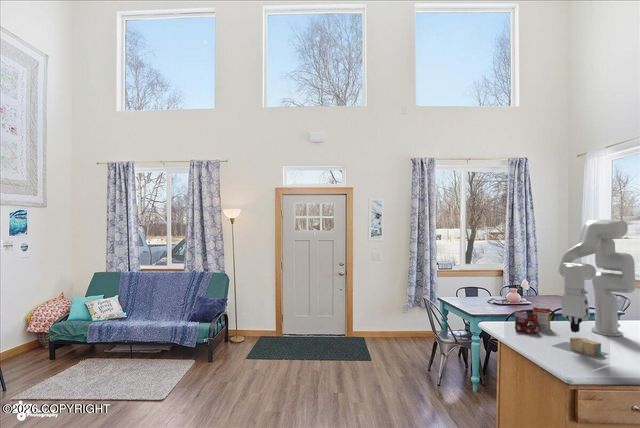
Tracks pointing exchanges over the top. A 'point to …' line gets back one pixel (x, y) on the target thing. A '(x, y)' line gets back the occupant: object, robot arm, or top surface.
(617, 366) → the top surface
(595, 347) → the oak block
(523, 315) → the toy fire truck
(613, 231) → the robot arm
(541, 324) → the canned food
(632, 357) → the top surface
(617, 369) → the top surface
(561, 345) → the mat
